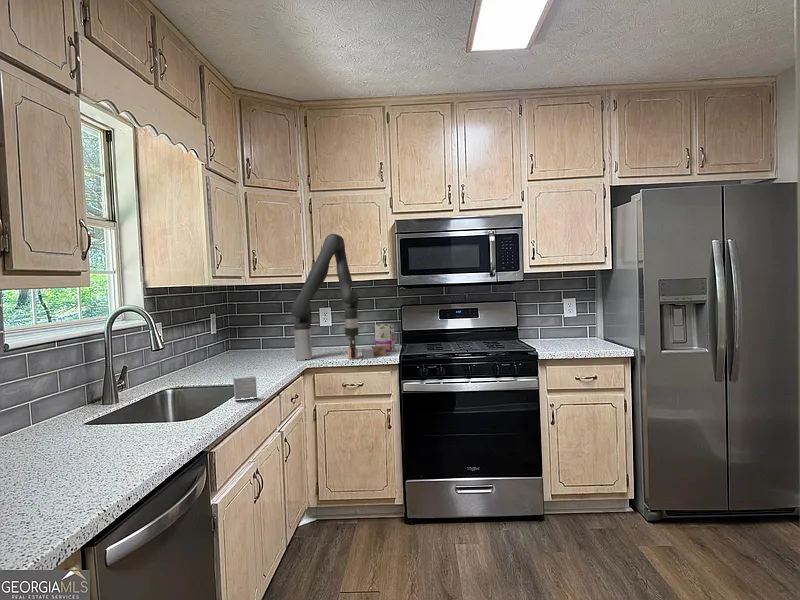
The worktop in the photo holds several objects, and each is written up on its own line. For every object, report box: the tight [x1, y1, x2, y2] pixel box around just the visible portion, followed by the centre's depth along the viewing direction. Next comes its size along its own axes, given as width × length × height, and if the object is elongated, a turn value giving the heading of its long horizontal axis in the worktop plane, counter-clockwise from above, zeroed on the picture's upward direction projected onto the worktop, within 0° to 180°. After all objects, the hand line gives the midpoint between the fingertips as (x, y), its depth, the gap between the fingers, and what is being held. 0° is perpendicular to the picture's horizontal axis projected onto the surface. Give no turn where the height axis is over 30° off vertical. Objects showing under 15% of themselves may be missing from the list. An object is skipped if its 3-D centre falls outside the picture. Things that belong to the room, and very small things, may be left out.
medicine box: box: [232, 374, 258, 400], centre depth 208 cm, size 8×4×9 cm, turn 113°
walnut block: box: [371, 346, 387, 357], centre depth 311 cm, size 7×7×5 cm
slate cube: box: [361, 347, 375, 360], centre depth 303 cm, size 5×5×5 cm
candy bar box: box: [374, 323, 396, 353], centre depth 328 cm, size 11×5×16 cm, turn 62°
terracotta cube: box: [347, 348, 359, 360], centre depth 304 cm, size 5×5×5 cm
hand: (352, 357), depth 304 cm, fingers closed on terracotta cube, 5 cm apart
